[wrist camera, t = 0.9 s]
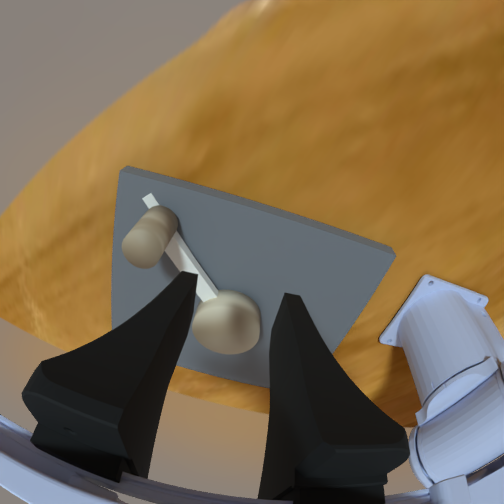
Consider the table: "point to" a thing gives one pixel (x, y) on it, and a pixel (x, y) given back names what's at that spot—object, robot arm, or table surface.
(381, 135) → the table surface
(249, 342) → the crank handle
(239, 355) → the dial board
